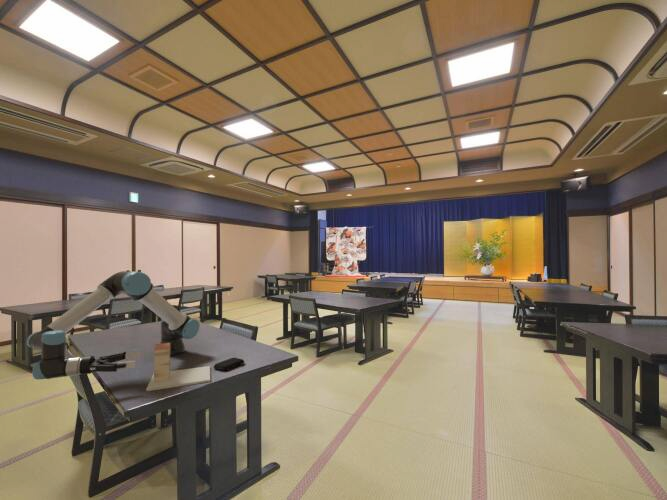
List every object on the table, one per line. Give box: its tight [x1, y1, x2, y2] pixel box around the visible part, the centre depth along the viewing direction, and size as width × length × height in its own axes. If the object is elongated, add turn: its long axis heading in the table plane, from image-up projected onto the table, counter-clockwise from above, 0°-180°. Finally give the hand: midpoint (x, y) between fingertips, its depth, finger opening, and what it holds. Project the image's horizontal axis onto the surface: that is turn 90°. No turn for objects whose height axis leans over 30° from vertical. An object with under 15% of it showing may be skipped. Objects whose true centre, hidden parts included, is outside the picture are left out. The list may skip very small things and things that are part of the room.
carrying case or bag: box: [213, 357, 245, 372], centre depth 163 cm, size 11×3×15 cm
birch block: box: [153, 343, 171, 382], centre depth 144 cm, size 6×6×16 cm
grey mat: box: [145, 365, 211, 392], centre depth 147 cm, size 26×20×1 cm
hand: (138, 359), depth 140 cm, fingers open, 13 cm apart
